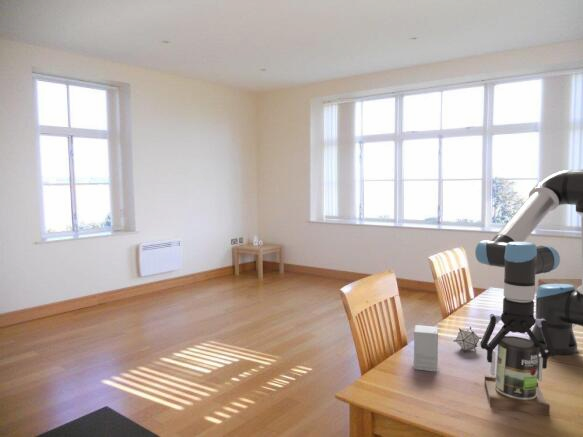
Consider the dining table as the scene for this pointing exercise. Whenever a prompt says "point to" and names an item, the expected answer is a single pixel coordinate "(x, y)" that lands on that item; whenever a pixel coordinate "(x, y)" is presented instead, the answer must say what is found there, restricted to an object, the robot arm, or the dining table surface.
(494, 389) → the board
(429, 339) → the supplement box
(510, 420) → the dining table surface
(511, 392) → the coffee can
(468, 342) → the spiky polyhedron ball
